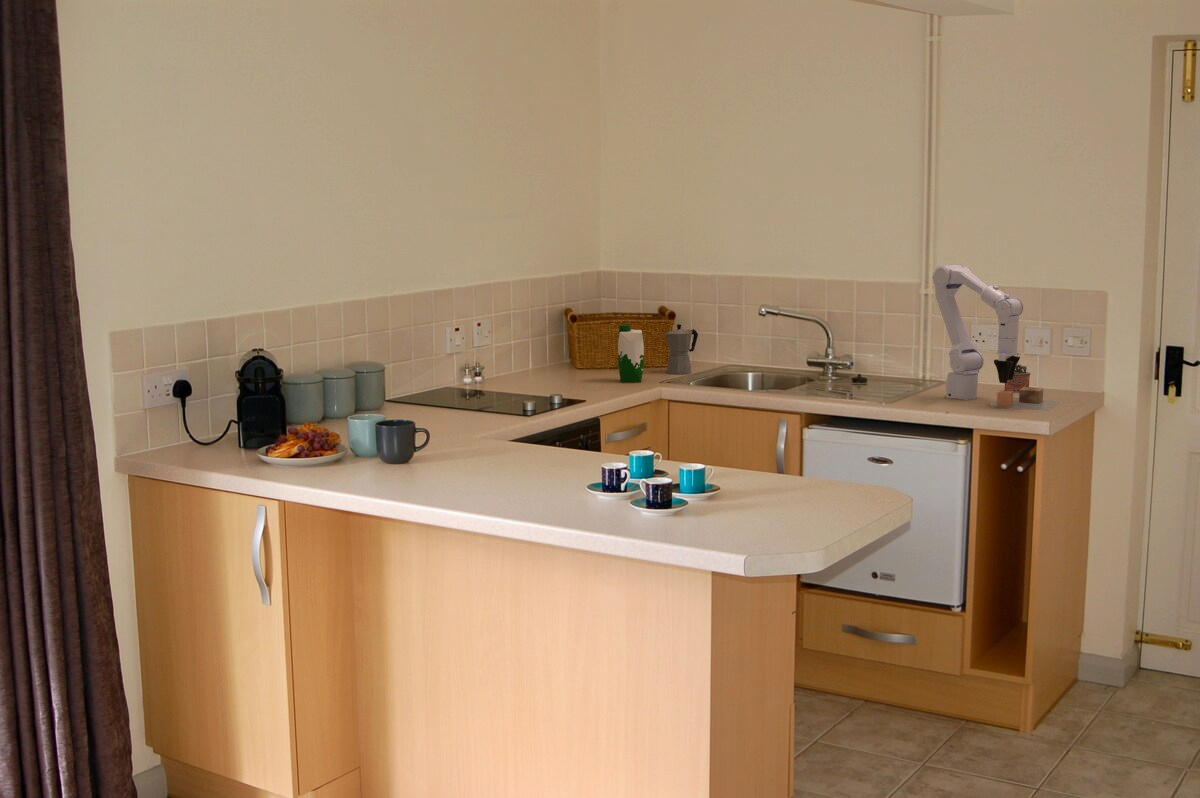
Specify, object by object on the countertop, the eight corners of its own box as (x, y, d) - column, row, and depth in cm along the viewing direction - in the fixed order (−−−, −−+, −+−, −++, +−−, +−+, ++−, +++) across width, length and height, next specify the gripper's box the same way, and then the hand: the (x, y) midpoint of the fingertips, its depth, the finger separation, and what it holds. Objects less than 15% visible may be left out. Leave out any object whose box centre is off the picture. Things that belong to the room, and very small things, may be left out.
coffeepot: (672, 376, 466) (673, 326, 463) (656, 372, 473) (656, 324, 470) (705, 372, 475) (705, 323, 471) (689, 369, 482) (689, 321, 479)
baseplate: (988, 408, 398) (988, 405, 398) (1001, 399, 413) (1002, 396, 413) (1048, 413, 389) (1049, 410, 389) (1060, 404, 404) (1060, 401, 404)
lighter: (1029, 394, 422) (1031, 364, 420) (1028, 396, 419) (1030, 365, 417) (1004, 392, 426) (1005, 363, 424) (1003, 394, 423) (1004, 364, 421)
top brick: (996, 405, 398) (997, 392, 398) (999, 402, 402) (1000, 390, 401) (1009, 406, 396) (1010, 393, 396) (1012, 404, 400) (1013, 391, 399)
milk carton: (618, 379, 460) (618, 323, 456) (643, 379, 459) (643, 323, 456) (618, 383, 451) (618, 326, 447) (644, 383, 451) (643, 326, 447)
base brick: (1018, 402, 403) (1019, 389, 402) (1023, 399, 408) (1023, 386, 407) (1038, 403, 400) (1039, 391, 399) (1042, 400, 405) (1043, 388, 404)
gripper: (1016, 341, 387) (1014, 385, 390) (1026, 335, 400) (1024, 378, 402) (992, 339, 391) (990, 383, 393) (1003, 334, 403) (1001, 377, 405)
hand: (1006, 381), depth 398 cm, fingers open, 7 cm apart
